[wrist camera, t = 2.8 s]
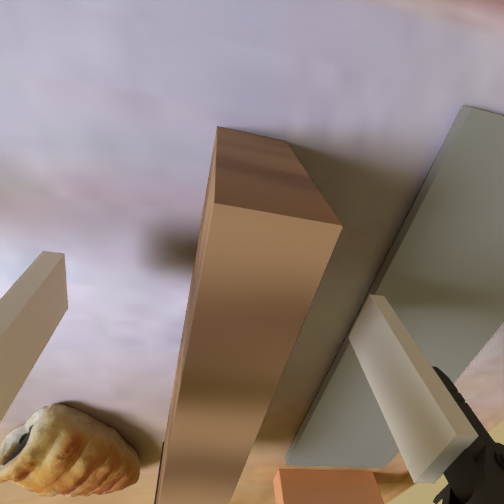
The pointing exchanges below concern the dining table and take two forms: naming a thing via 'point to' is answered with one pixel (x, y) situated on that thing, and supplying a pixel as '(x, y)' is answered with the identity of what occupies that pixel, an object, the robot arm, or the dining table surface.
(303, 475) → the tile
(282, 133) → the dining table surface
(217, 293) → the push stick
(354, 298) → the dining table surface
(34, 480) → the pastry
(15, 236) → the dining table surface
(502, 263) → the mat
